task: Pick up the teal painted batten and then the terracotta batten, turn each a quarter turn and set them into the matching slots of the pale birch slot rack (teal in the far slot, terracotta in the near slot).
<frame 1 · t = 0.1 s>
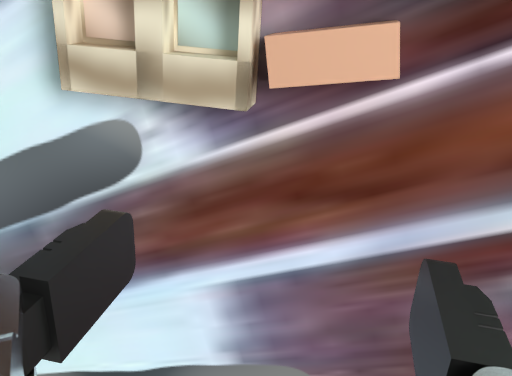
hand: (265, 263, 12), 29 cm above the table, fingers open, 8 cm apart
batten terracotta: (333, 51, 38), on the table
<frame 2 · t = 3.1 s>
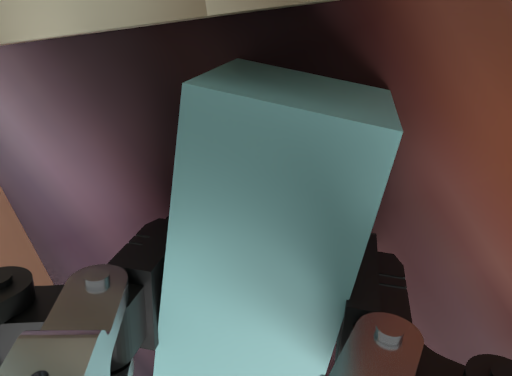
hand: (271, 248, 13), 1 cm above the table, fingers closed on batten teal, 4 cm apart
batten teal: (275, 238, 14), on the table, touching gripper
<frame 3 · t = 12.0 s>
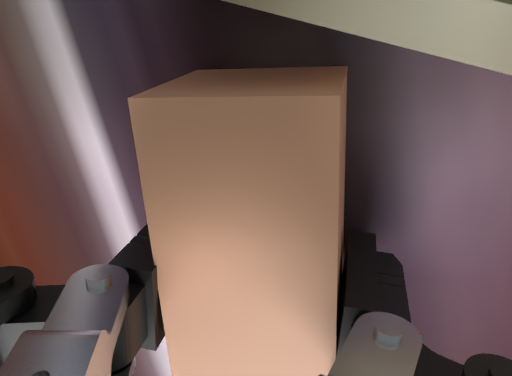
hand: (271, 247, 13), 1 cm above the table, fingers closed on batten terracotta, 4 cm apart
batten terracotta: (276, 236, 14), on the table, touching gripper
when the fingers open (4 cm above the table, at t = 16.9 s): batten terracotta drops 2 cm, resting on slot rack.
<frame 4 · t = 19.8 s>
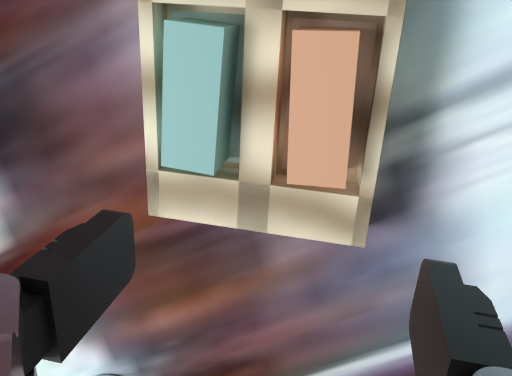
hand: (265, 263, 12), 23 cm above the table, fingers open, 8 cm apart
slot rack: (268, 93, 34), on the table
batten teal: (208, 91, 34), point 1 cm above the table, touching slot rack
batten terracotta: (325, 101, 32), point 1 cm above the table, touching slot rack
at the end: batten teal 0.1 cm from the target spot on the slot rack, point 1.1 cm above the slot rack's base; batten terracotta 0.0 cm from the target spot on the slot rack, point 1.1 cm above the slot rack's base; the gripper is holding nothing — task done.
